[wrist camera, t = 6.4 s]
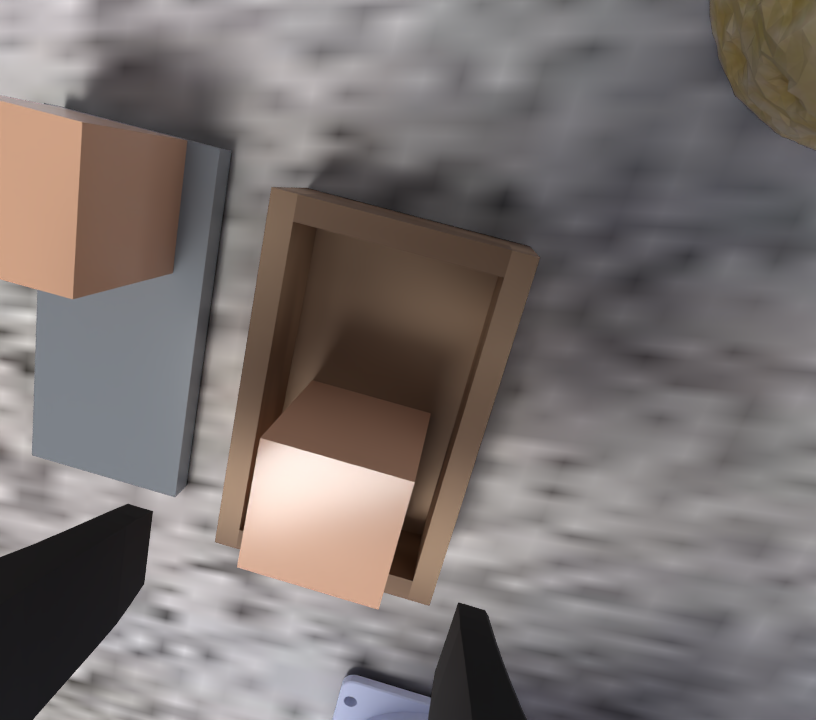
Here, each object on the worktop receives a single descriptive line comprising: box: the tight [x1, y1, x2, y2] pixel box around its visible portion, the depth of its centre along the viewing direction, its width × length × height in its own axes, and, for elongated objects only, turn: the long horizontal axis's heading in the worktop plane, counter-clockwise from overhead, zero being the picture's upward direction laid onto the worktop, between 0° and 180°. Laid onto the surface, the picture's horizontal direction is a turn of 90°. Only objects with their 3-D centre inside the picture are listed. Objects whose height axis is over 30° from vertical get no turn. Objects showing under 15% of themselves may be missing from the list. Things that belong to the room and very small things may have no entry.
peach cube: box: [237, 380, 431, 610], centre depth 17 cm, size 4×4×4 cm
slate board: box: [32, 103, 232, 497], centre depth 19 cm, size 12×6×1 cm, turn 166°
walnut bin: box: [215, 187, 540, 606], centre depth 17 cm, size 11×7×3 cm, turn 166°
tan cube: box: [0, 95, 187, 299], centre depth 15 cm, size 4×4×4 cm
